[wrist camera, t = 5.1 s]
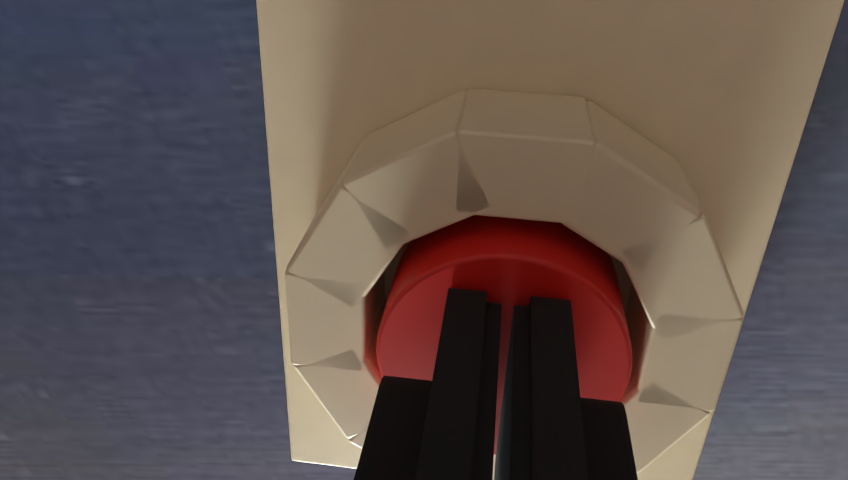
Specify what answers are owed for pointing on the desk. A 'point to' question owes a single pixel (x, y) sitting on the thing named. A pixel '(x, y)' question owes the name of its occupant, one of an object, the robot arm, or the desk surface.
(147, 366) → the desk surface
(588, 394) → the button
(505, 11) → the switch block
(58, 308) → the desk surface
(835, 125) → the desk surface
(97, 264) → the desk surface
